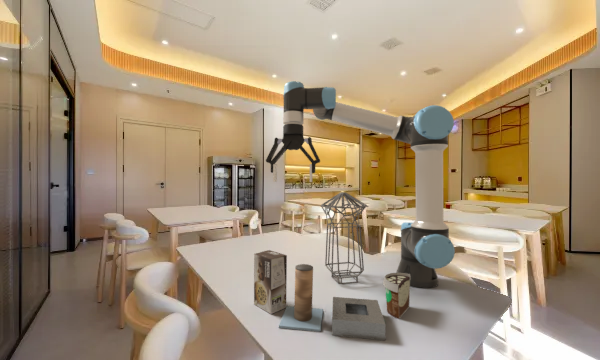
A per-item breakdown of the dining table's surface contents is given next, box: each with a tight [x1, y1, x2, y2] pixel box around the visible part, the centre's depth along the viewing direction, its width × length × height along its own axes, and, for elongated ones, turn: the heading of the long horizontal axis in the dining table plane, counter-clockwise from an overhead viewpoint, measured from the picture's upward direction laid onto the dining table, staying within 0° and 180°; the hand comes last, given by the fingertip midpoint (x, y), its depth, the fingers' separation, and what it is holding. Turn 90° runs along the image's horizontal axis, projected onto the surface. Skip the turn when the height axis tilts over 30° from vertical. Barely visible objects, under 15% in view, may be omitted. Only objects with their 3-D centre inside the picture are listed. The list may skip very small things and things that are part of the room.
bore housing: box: [331, 296, 386, 341], centre depth 70 cm, size 13×13×4 cm
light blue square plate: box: [278, 305, 324, 333], centre depth 73 cm, size 11×11×1 cm
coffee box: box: [253, 249, 288, 315], centre depth 80 cm, size 9×6×16 cm
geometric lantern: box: [320, 191, 370, 285], centre depth 103 cm, size 16×16×35 cm
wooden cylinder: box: [293, 263, 314, 321], centre depth 73 cm, size 5×5×14 cm
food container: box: [382, 272, 411, 320], centre depth 79 cm, size 12×6×10 cm, turn 141°
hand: (292, 181), depth 96 cm, fingers open, 13 cm apart
